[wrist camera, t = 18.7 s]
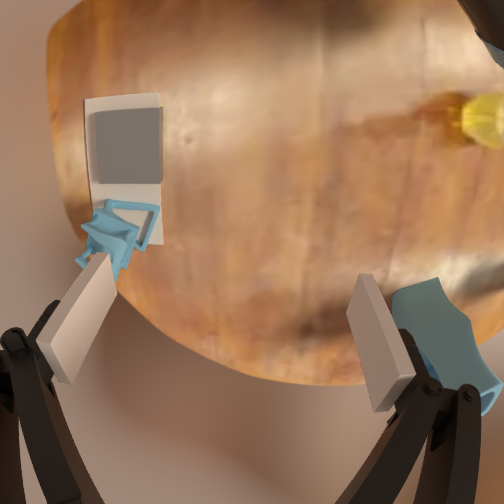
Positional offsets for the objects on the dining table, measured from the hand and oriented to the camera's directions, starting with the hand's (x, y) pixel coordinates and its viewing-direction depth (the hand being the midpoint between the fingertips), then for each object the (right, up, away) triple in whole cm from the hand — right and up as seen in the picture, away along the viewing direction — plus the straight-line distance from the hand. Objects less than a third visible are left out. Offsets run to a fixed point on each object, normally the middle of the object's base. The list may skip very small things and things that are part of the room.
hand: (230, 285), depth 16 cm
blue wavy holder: (+32, -8, +36) cm, 49 cm away
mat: (-17, +13, +24) cm, 32 cm away
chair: (-17, +7, +27) cm, 33 cm away
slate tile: (-11, +15, +21) cm, 28 cm away
